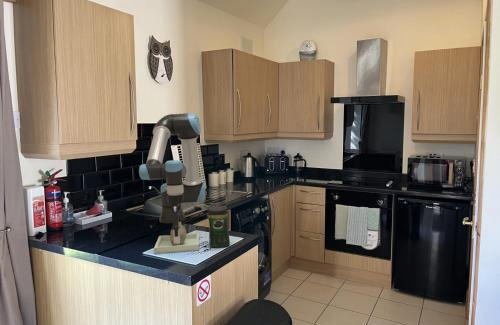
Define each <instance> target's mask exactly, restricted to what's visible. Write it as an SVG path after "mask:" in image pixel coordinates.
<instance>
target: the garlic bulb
mask: <svg viewBox="0 0 500 325" xmlns="http://www.w3.org/2000/svg"><path fill="white" fill-rule="evenodd" d="M179 233H180V243H177V244H174V237H173V230H170V241H171V244H172V245H173V246H176V245H182V244H183V243H184V241H185V238H186V234H187V229H186V228H185V226H184V225H182V224H181V225H180V226H179Z"/></svg>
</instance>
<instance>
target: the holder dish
mask: <svg viewBox="0 0 500 325" xmlns="http://www.w3.org/2000/svg"><path fill="white" fill-rule="evenodd" d="M170 235H171V234H170ZM170 235H169V234H168V235H159V236H158V238H157V241H156V243H155V245H154V247H153V249H154V250H153V251H154V255H159V254H160V255H161V254H174V253H186V252H198V251H200V232H198V233H196V232H195V233H186V238H185V241H184V243H183V244H182V245H176V246H173V245H172V244H171V241H170Z"/></svg>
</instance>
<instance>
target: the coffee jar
mask: <svg viewBox="0 0 500 325" xmlns="http://www.w3.org/2000/svg"><path fill="white" fill-rule="evenodd" d="M206 216H207V219H208V223H209V224H208V225H209V227H208V229H209V230H208V233H209V234H208V245H209V247H211V248H224V247H228V246H230V245H231V244H230V243H231V242H230V234H229V227H228V217H229V210H228V207H227V205H213V206H212V205H211V206H210V205H209V206H208V207H207V214H206Z"/></svg>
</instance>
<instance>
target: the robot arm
mask: <svg viewBox="0 0 500 325" xmlns="http://www.w3.org/2000/svg"><path fill="white" fill-rule="evenodd" d="M201 133H202V129H201V121H200V118H199V116H198V114H196V113H188V112H187V113H174V114H173V113H170V114H166V115H164V116H163V117H161V118H160V119H159V120H158V121H156V124H155V125H154V126H153V130H152V135H153V137H152V141H151V145H150V148H149V151H148V156H147V160H146V162H145V163H143V164H141V165H139V168H138V174H139V177H140V179H141V180H146V181H152V180H154V181H155V180H165V181H166V183H162V185H161V186H160V201H161V202H160V203H161V210H160V211H161V212H160V215H159V218H158V219H159V223H160V224H172V227H171V228H170V229H171V230H173V237H174V244H177V243H180V233H179V226H180V225H182V222H184V221H185V220H186V215H185V213H184V210H183V207H182V204H188V203H189V204H191V203H194V204H195V203H202V202H204V201H205V196H206V187H207V186H206V182H203V181H204V180H203V179H202V178H201V176H200V166H199V157H198V156H199V155H198V145H197V139H198V138H199V136H200V134H201ZM175 135H176V136H177V139H178V140H180V141H181V142H180V143H181V154H182V160H179V159H177V160H176V159H175V160H174V159H173V160H167V161H166V162H165V163H163V161H164V156H165V151H166V148H167V145H168V144H167V143H168V139H170V137H171V136H175ZM183 178H184V180H183ZM171 230H170V231H171Z"/></svg>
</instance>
